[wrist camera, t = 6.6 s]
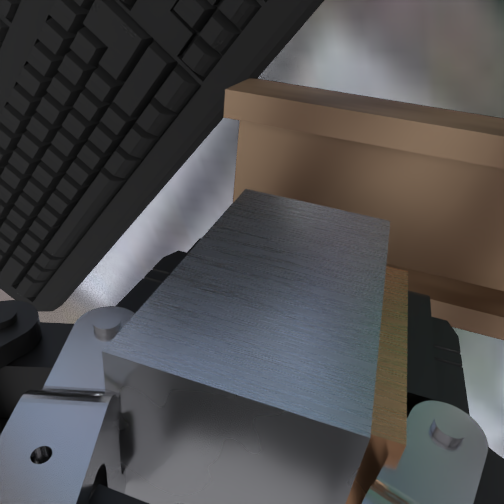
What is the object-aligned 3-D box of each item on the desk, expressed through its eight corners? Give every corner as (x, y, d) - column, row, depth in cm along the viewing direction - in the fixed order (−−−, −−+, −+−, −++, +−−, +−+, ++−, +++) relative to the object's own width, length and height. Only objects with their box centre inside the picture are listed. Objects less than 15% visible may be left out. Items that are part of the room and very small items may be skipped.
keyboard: (55, 315, 31) (35, 333, 29) (-72, 201, 29) (-102, 213, 27) (426, -112, 15) (428, -127, 13) (186, -410, 13) (153, -468, 12)
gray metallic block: (245, 188, 13) (102, 351, 7) (413, 226, 12) (416, 453, 6) (233, 302, 15) (115, 502, 9) (375, 341, 14) (349, 595, 8)
